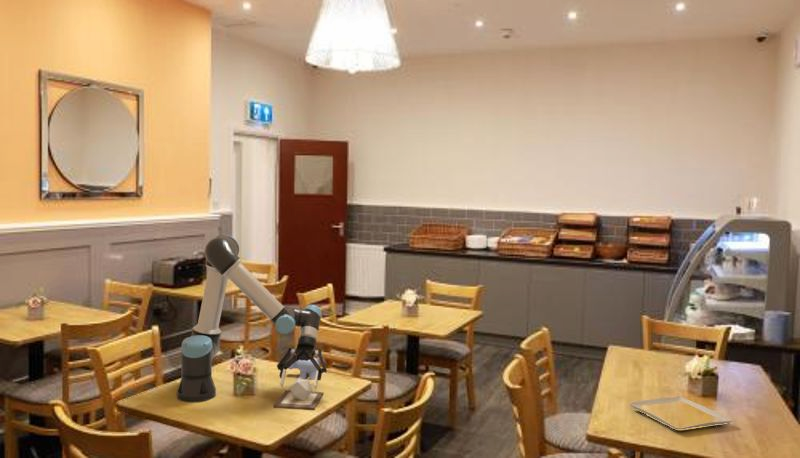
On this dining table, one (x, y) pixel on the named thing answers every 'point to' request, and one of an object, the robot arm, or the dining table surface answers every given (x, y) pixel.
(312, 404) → the picture frame
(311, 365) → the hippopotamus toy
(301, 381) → the die
